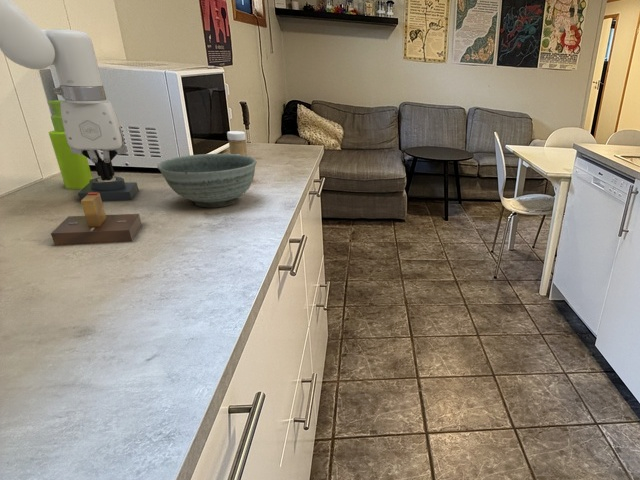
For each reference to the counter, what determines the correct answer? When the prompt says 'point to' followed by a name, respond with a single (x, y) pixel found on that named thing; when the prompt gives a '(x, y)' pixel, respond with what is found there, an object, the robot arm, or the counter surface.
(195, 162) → the bowl
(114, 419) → the counter surface
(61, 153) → the soap dispenser
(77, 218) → the plate
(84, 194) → the block
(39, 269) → the counter surface
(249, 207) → the counter surface
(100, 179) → the bell button
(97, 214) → the tan wooden block
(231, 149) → the sprinkles bottle
